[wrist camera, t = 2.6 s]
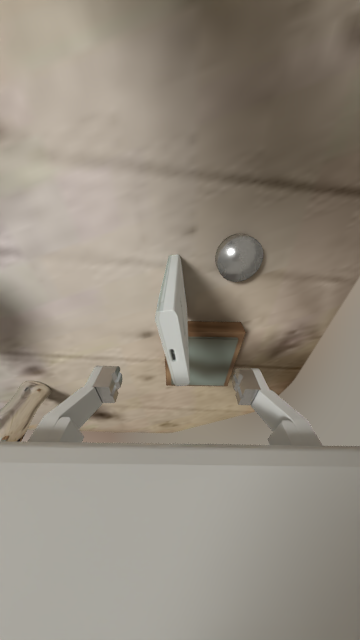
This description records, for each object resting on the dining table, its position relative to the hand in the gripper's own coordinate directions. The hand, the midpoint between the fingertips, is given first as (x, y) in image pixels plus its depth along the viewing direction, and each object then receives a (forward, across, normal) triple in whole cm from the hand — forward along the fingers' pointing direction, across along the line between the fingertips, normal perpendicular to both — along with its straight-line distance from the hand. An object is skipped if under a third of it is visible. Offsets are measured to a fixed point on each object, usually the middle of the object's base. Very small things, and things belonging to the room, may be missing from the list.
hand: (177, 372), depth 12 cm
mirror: (+14, -4, +12) cm, 19 cm away
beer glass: (+14, +32, +25) cm, 43 cm away
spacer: (+14, -7, -5) cm, 16 cm away
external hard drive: (+14, 0, -1) cm, 14 cm away
